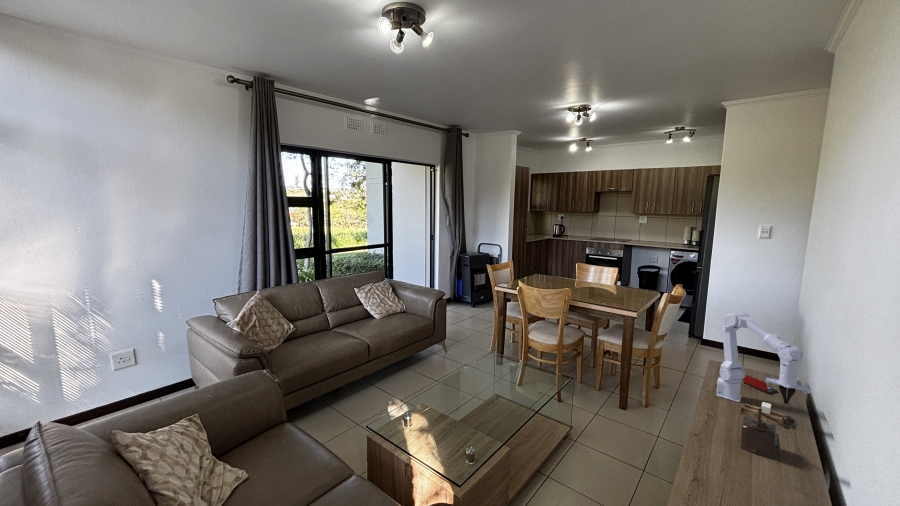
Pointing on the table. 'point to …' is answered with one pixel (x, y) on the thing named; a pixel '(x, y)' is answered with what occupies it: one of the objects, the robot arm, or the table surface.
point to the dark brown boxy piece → (761, 434)
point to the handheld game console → (758, 384)
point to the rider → (766, 408)
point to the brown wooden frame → (753, 410)
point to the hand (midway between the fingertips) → (786, 403)
